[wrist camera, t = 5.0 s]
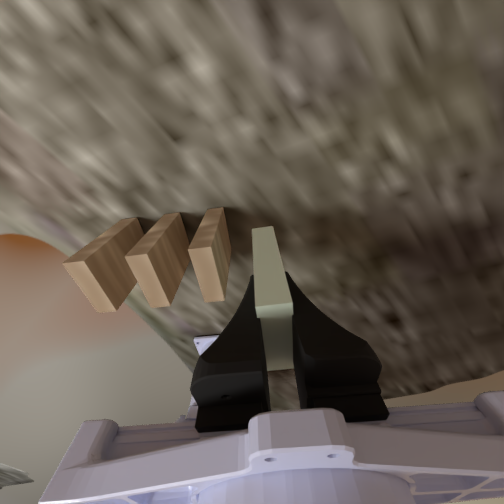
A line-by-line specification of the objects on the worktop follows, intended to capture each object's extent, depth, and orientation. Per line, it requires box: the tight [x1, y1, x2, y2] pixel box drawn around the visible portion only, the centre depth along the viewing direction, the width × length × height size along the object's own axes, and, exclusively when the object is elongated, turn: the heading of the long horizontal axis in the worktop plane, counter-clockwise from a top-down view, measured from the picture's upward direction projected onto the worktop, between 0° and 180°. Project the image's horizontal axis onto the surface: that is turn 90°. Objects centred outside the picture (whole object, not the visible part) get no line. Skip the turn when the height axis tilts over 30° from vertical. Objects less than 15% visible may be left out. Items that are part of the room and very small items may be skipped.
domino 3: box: [188, 207, 232, 302], centre depth 19 cm, size 2×5×8 cm, turn 6°
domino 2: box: [124, 212, 191, 308], centre depth 19 cm, size 2×5×8 cm, turn 6°
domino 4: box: [252, 226, 294, 371], centre depth 13 cm, size 2×5×8 cm, turn 8°
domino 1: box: [62, 218, 144, 313], centre depth 19 cm, size 2×5×8 cm, turn 7°
